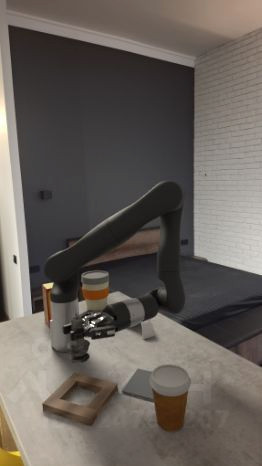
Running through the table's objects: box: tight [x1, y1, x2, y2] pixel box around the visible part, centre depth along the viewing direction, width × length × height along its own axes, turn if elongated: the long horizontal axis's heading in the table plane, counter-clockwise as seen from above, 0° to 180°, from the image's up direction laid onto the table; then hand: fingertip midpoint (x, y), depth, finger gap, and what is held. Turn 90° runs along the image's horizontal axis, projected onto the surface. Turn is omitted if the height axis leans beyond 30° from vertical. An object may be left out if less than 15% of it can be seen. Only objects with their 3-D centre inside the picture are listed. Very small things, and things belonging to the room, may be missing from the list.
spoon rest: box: [140, 319, 155, 340], centre depth 125 cm, size 24×12×7 cm, turn 25°
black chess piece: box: [67, 313, 91, 365], centre depth 81 cm, size 6×6×12 cm
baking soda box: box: [41, 282, 53, 328], centre depth 130 cm, size 10×6×16 cm
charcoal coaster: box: [121, 368, 154, 402], centre depth 89 cm, size 11×11×1 cm
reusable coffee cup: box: [80, 270, 110, 311], centre depth 144 cm, size 13×13×15 cm
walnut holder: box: [42, 371, 119, 427], centre depth 84 cm, size 14×14×2 cm
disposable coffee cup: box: [149, 364, 192, 433], centre depth 75 cm, size 10×10×12 cm
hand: (67, 333), depth 79 cm, fingers closed on black chess piece, 3 cm apart
